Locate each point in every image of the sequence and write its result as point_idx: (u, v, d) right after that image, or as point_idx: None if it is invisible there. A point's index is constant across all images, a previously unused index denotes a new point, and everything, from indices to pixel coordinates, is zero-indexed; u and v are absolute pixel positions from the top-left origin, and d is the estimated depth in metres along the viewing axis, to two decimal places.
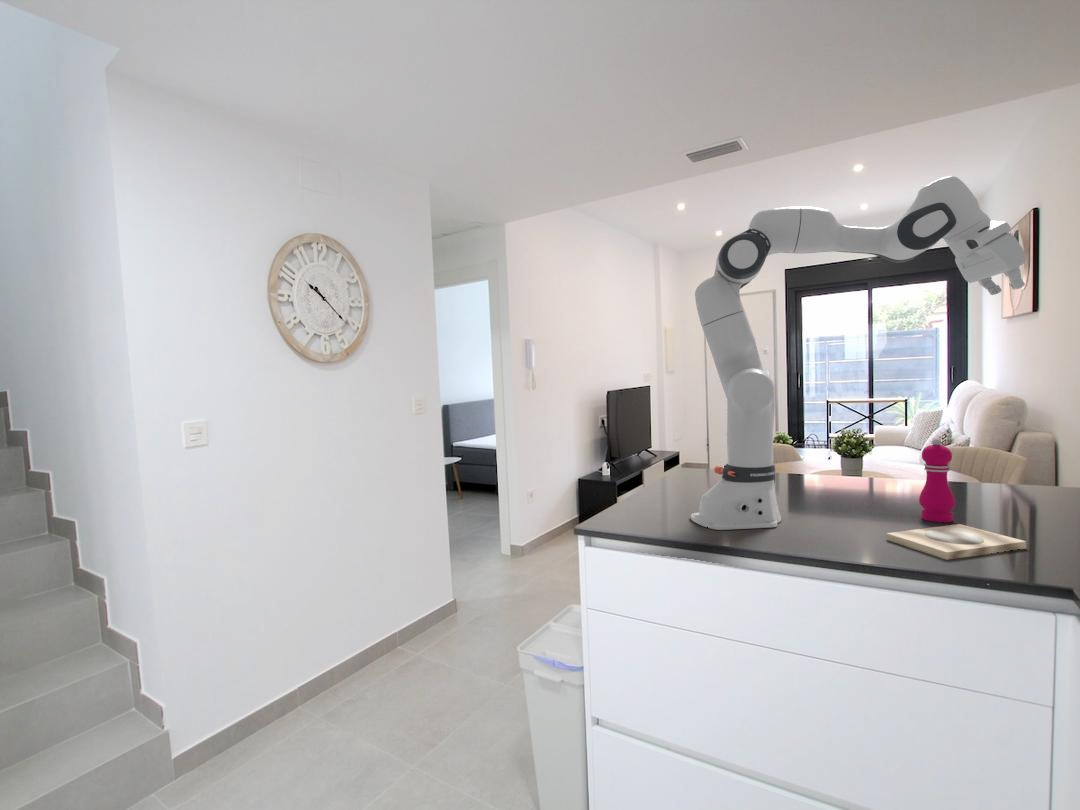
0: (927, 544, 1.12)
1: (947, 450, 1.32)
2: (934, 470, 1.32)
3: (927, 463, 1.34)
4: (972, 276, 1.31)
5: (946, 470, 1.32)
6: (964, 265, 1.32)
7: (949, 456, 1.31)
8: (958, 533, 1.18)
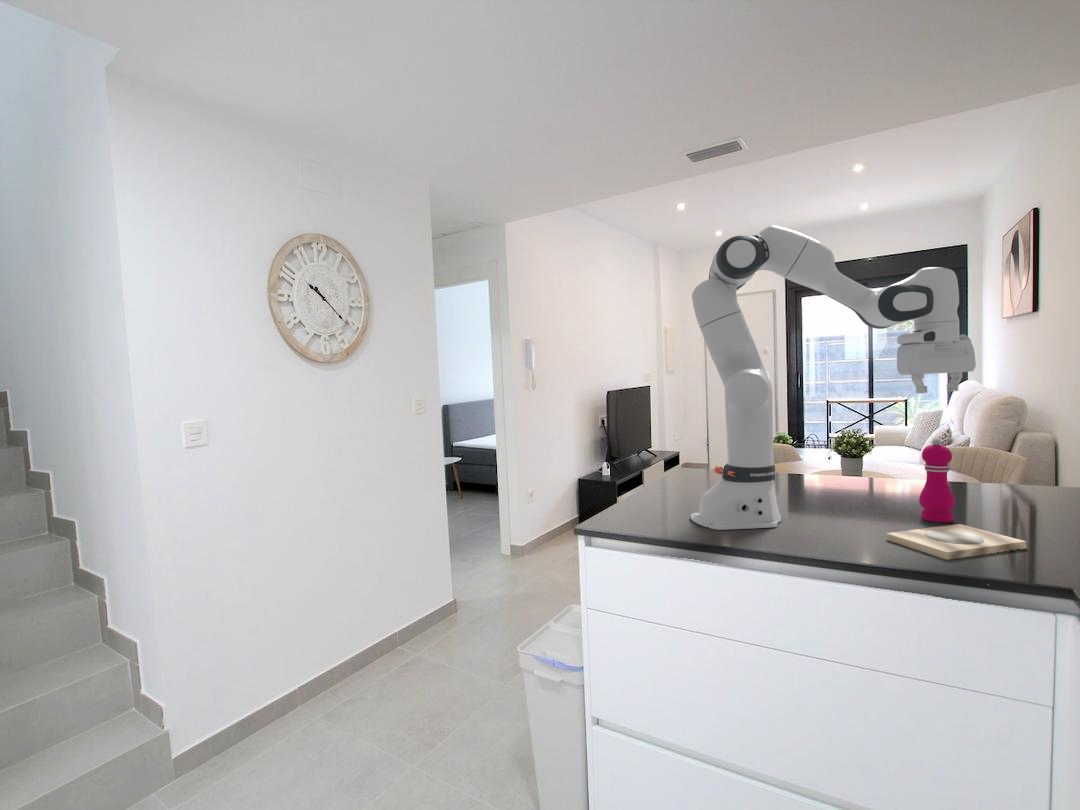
0: (927, 544, 1.12)
1: (947, 450, 1.32)
2: (934, 470, 1.32)
3: (927, 463, 1.34)
4: None
5: (946, 470, 1.32)
6: None
7: (950, 456, 1.31)
8: (958, 533, 1.18)
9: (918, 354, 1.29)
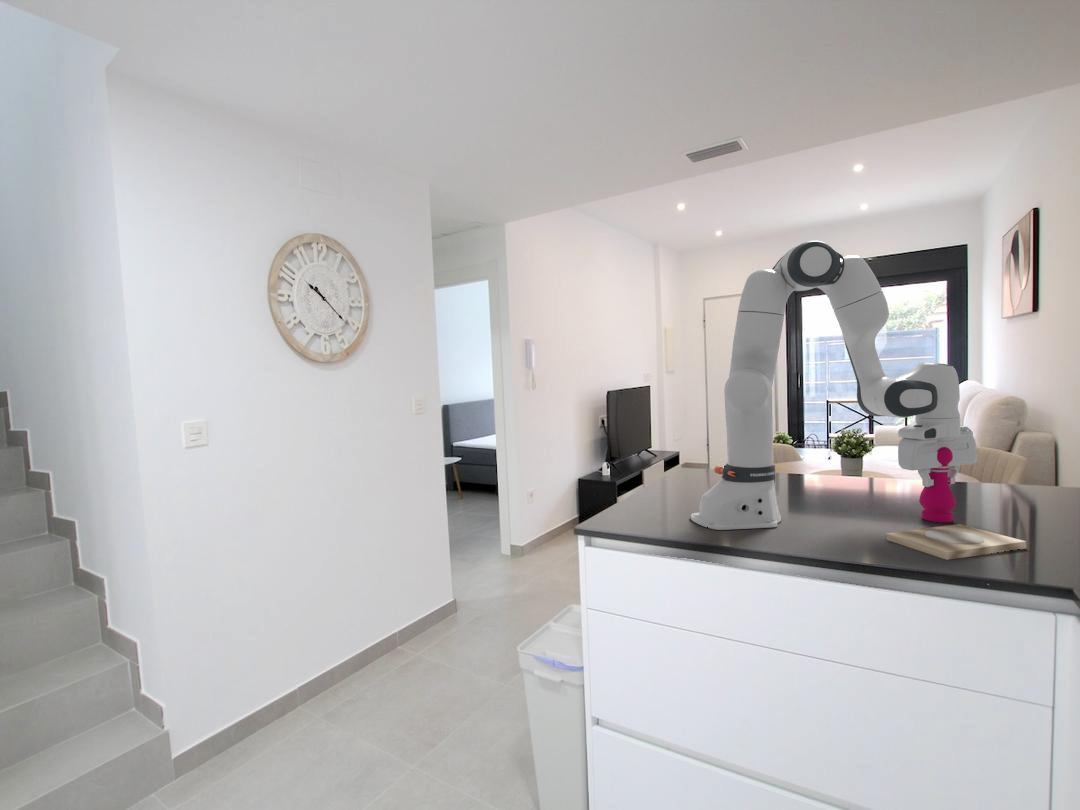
0: (927, 544, 1.12)
1: (948, 450, 1.31)
2: (935, 470, 1.32)
3: None
4: None
5: (947, 470, 1.32)
6: None
7: (950, 456, 1.31)
8: (958, 533, 1.18)
9: (919, 450, 1.30)
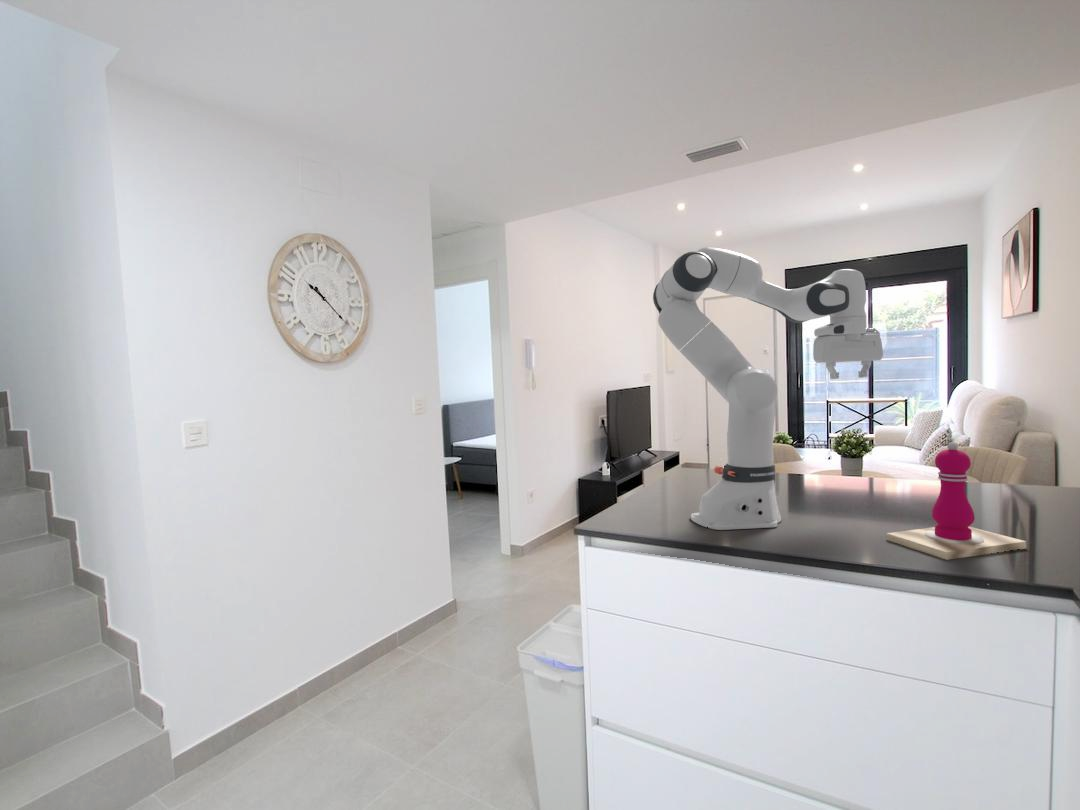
0: (927, 544, 1.12)
1: (965, 456, 1.13)
2: (950, 479, 1.14)
3: (941, 471, 1.15)
4: None
5: (964, 479, 1.13)
6: None
7: (968, 463, 1.12)
8: None
9: (830, 345, 1.49)
